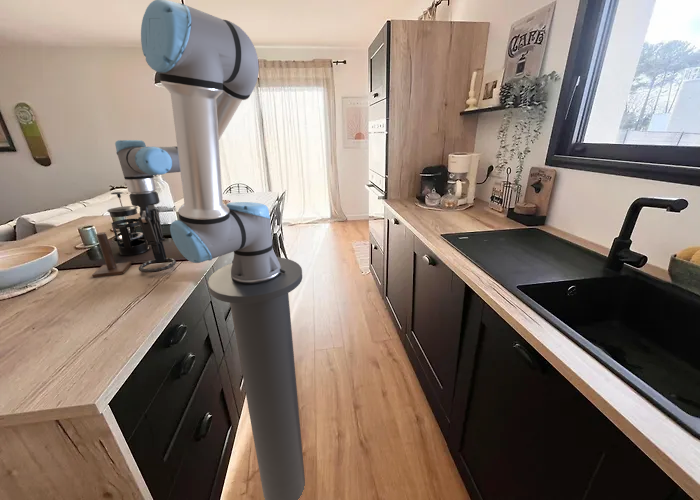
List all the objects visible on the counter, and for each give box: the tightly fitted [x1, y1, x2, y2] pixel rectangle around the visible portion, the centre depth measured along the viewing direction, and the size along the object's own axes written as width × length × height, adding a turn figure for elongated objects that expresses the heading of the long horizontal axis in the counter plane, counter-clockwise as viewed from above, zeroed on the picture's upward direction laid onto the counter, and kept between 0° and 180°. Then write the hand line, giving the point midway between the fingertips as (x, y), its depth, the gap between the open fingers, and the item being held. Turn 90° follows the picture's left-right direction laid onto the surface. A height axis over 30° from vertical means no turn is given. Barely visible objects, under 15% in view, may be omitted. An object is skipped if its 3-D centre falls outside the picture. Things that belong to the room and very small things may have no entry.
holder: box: [91, 231, 132, 278], centre depth 93 cm, size 8×8×13 cm
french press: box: [106, 191, 150, 257], centre depth 107 cm, size 12×9×23 cm
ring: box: [138, 257, 177, 274], centre depth 95 cm, size 10×10×1 cm
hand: (161, 260), depth 99 cm, fingers closed on ring, 1 cm apart
